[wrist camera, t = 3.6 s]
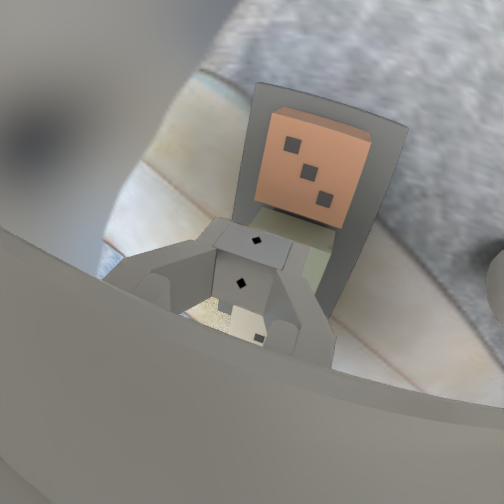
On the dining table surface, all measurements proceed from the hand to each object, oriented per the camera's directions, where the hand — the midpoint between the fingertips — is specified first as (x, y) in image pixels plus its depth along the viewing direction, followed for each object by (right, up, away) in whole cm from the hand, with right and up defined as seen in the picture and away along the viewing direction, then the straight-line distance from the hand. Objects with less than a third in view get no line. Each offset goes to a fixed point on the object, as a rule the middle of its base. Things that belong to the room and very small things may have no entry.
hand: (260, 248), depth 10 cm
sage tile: (+2, 0, +13) cm, 13 cm away
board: (+3, +1, +14) cm, 15 cm away
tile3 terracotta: (+4, +6, +8) cm, 11 cm away
